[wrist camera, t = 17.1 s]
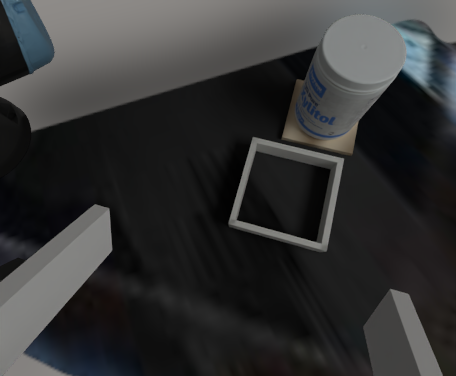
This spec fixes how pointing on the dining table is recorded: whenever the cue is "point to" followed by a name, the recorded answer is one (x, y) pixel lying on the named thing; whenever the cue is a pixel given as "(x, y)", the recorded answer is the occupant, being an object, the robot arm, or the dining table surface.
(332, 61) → the supplement tub
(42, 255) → the robot arm
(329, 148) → the birch board
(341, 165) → the grey square frame
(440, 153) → the dining table surface
